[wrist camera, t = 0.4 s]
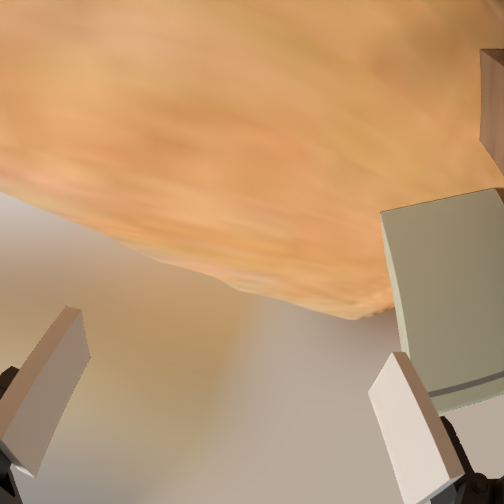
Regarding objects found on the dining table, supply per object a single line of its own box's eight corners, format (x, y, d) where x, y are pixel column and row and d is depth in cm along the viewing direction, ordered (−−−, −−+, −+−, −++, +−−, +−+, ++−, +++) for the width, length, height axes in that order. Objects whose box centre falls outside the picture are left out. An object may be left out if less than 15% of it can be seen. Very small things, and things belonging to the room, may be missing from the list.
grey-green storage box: (385, 258, 36) (407, 419, 25) (380, 212, 29) (415, 415, 18) (482, 236, 31) (522, 386, 20) (494, 187, 24) (559, 368, 13)
